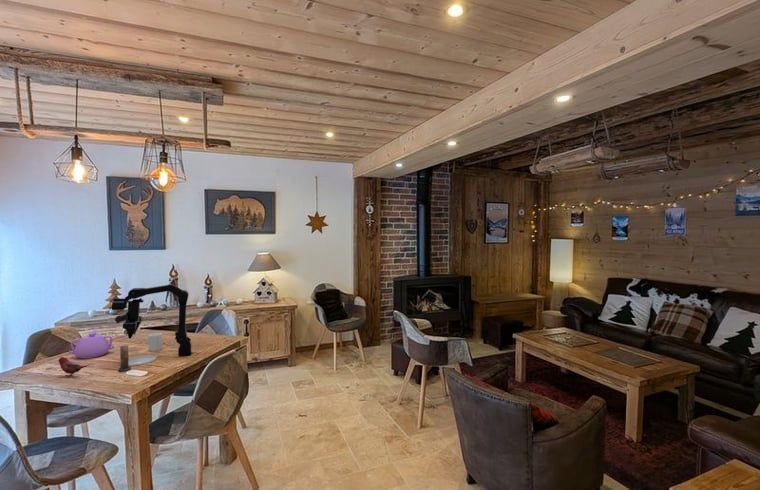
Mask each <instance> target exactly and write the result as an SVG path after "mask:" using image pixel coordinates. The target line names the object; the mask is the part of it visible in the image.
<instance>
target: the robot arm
mask: <svg viewBox="0 0 760 490" xmlns="http://www.w3.org/2000/svg"><path fill="white" fill-rule="evenodd" d="M164 292H170V293H171V294H173V295H174V296H176V297H177V302H178V305H179V306H178V309H179V311H178V312H179V313H178V330H175V332H174V335H175V338H174V340H175V341H176V343H177V344H179V347H178V348H177V349H178V351H177V352H178V353H177V354H178V357H180V358H181V357H187V356H188V357H189V356H191V355H192V354H193V352H192V343H191V342H192V339H191V338H190V337H189V336H188V332H187V328H186V324H187V323H186V322H187V321H186V320H187V304H188V299H189V294H190V293H189V291H187V290H184V289H181V288H179V287H177V286H176V285H174V284H173V283H168V284H165V285H163V284H162V285H159V286H153V287H151V286H150V287H134V288H131V289H130V290H129V291H128V293H127V295H126V296H125V297H123V298H119V297H118V298H117V297H114V298H113V299H112V304H111V311H124V310H126V309H127V311H126V313H125V314H121V315H117V316H116V317H115V318H114V319H115V320H114V321H115V322H116V324H119V323H122V322H124V323H123V324H122V329H123V330H126V332H127V337H128V339H132V337H133V335H135V334H136V333H137V330H138V329H139V327H140V325H141V324H142V321H143V316H142V315H140V312H141V310H140V305H141V303H143V302H145V300H144V299H142V298H143V297H144V296H148V295H153V294H159V293H164Z"/></svg>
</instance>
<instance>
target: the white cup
mask: <svg viewBox="0 0 760 490" xmlns="http://www.w3.org/2000/svg"><path fill="white" fill-rule="evenodd" d="M162 342H163V333H162V332H154V333H150V334H148V335H147V345H148V352H158V351H161V350H162Z"/></svg>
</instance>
